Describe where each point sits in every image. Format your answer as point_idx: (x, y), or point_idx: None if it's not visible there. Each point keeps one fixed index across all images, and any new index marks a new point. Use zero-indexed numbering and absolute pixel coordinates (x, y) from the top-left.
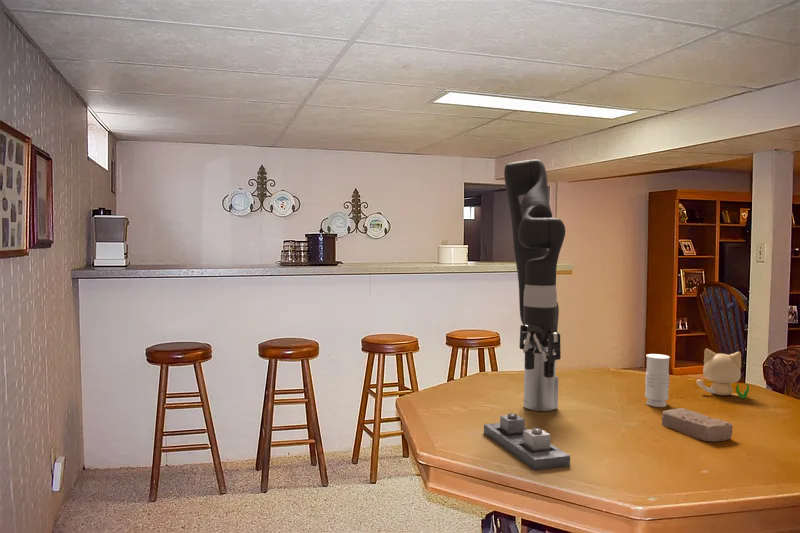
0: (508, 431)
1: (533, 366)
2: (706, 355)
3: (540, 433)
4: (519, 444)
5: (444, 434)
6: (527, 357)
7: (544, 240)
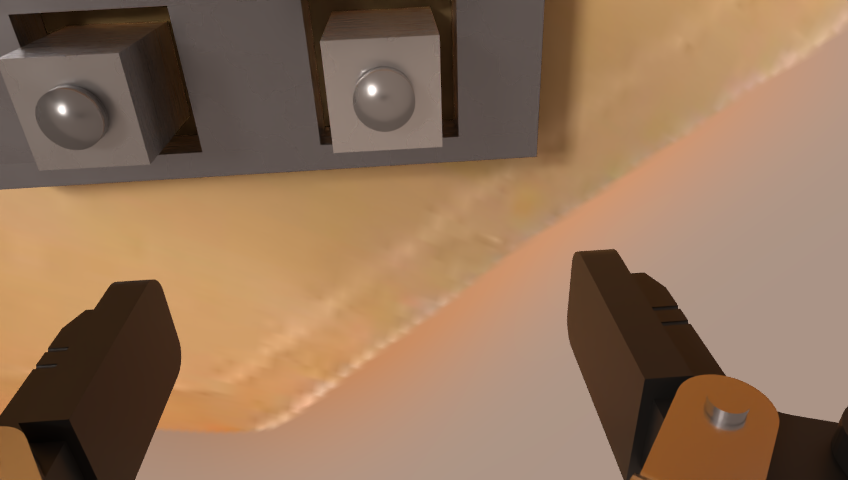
0: (169, 139)
1: (148, 299)
2: None
3: (413, 88)
4: (319, 133)
5: (46, 330)
6: (127, 465)
7: None
